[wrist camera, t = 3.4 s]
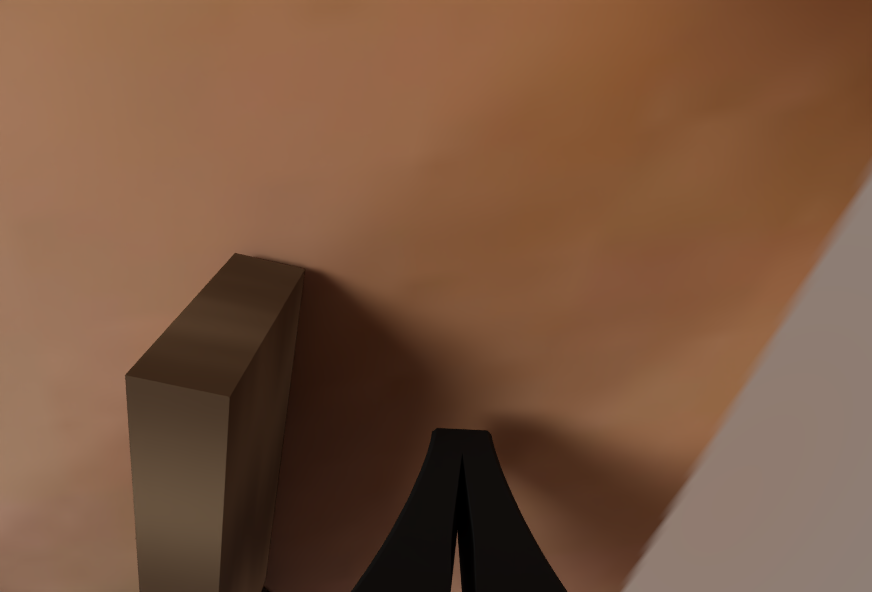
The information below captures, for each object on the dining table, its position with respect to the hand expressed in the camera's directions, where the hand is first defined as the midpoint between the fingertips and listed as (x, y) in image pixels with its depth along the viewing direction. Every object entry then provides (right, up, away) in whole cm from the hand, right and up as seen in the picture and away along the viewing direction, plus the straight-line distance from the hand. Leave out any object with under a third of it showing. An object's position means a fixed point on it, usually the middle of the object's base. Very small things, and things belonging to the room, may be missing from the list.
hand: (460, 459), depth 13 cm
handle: (-6, -1, +2) cm, 6 cm away
